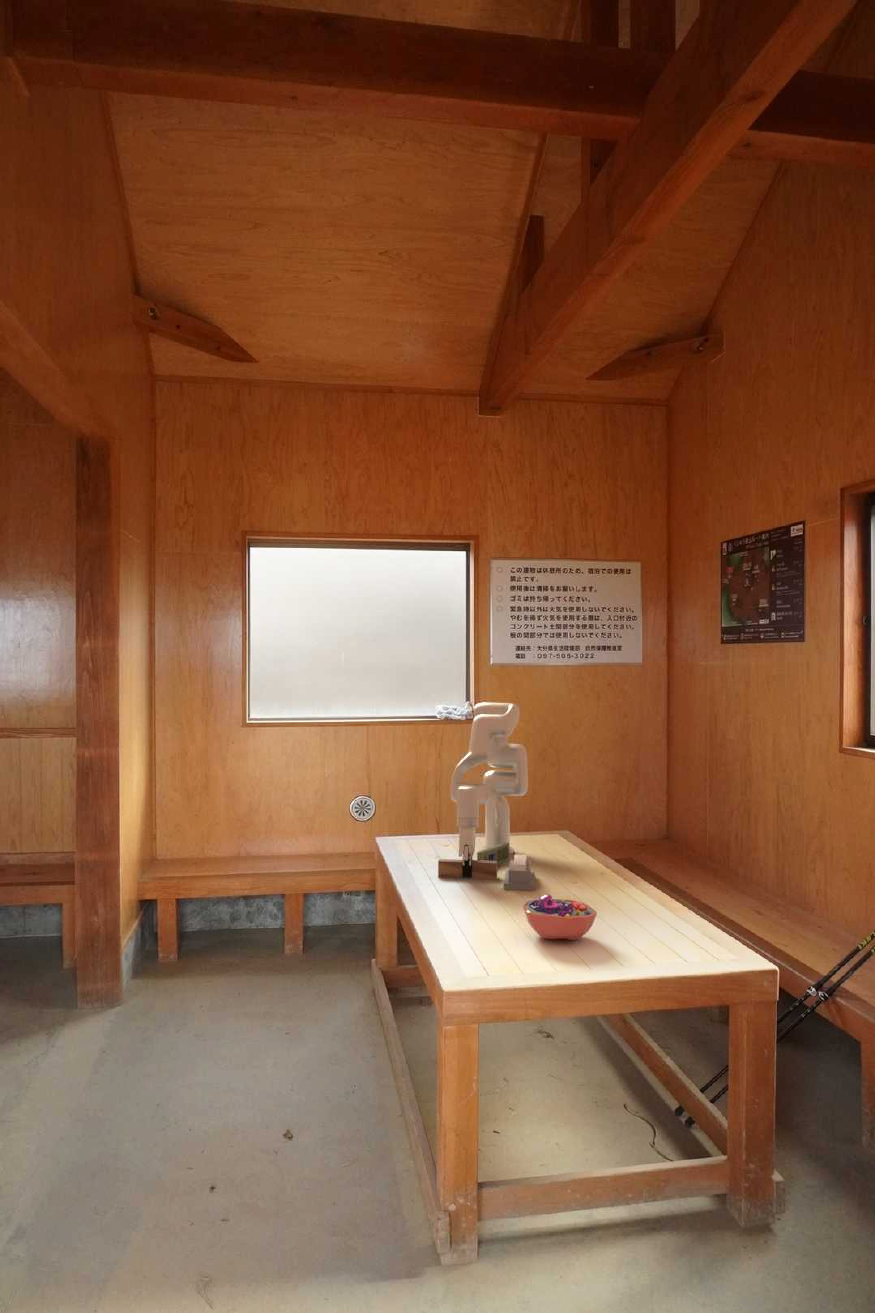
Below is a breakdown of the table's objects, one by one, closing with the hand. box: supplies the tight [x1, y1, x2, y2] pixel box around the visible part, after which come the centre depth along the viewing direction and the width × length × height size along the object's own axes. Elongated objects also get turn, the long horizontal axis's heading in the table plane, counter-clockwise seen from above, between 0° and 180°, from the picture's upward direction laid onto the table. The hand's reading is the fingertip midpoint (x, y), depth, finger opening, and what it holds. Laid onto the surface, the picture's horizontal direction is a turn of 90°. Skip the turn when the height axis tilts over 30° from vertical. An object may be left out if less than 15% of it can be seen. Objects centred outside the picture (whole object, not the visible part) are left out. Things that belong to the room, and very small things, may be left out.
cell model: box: [522, 893, 598, 941], centre depth 222 cm, size 17×20×11 cm
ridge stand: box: [503, 854, 536, 892], centre depth 276 cm, size 16×10×8 cm, turn 173°
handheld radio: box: [476, 842, 511, 866], centre depth 299 cm, size 7×3×25 cm
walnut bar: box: [437, 858, 498, 880], centre depth 284 cm, size 4×20×6 cm, turn 83°
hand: (467, 875), depth 284 cm, fingers closed on walnut bar, 3 cm apart
